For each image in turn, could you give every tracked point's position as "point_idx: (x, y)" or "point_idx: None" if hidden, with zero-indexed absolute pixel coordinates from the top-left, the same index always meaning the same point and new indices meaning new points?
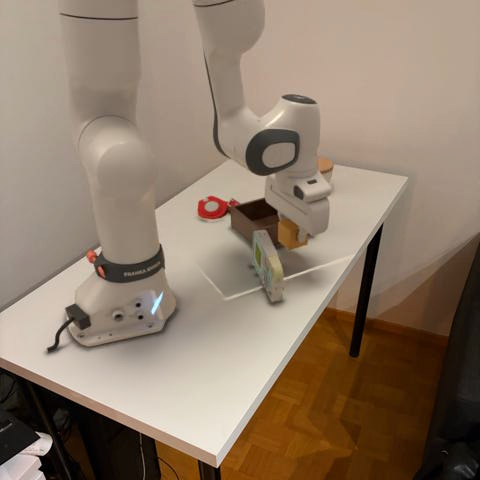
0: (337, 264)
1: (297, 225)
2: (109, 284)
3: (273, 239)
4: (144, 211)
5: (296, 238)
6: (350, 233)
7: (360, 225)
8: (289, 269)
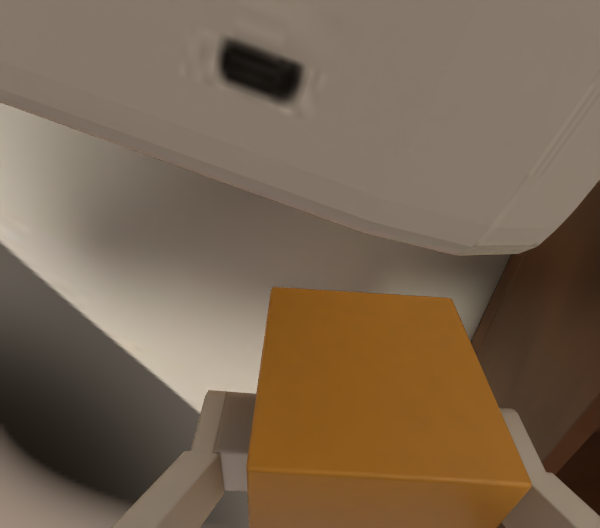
0: (194, 377)
1: None
2: None
3: (542, 296)
4: None
5: (248, 408)
6: None
7: None
8: (270, 201)
